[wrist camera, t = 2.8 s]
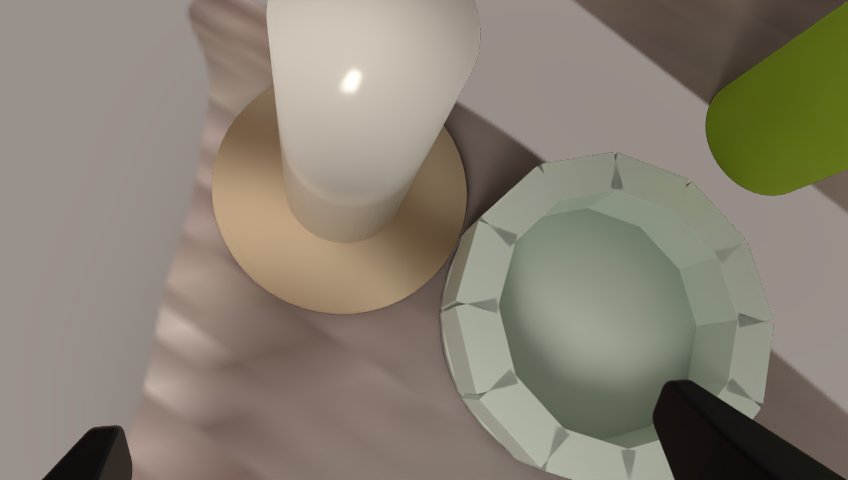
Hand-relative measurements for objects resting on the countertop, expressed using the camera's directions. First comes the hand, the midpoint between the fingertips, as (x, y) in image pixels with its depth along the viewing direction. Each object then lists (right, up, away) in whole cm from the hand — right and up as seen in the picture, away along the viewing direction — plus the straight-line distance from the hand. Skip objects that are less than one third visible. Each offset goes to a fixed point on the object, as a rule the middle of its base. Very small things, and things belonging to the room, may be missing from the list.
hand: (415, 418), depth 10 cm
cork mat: (-3, +5, +15) cm, 16 cm away
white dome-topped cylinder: (-3, +5, +14) cm, 15 cm away
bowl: (+7, 0, +15) cm, 17 cm away
